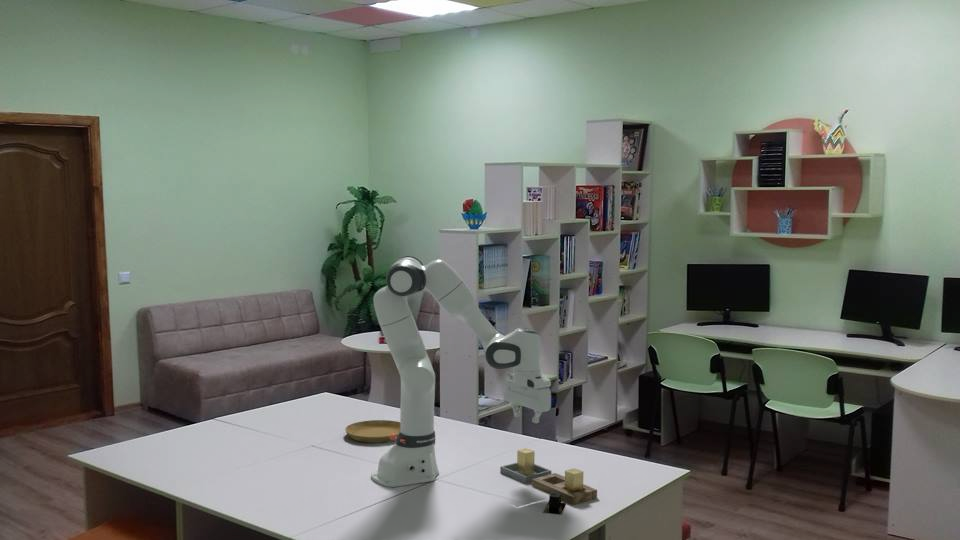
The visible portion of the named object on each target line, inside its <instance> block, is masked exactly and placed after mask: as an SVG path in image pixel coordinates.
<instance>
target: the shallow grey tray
mask: <svg viewBox="0 0 960 540" xmlns="http://www.w3.org/2000/svg"><path fill="white" fill-rule="evenodd" d="M499 468H500V472H499V473H500V474H502V475H505V476H507V477H510V478H512V479H514V480H516V481H519V482H521V483H523V484H525V485H526V484H529V483H532V479H535V478H538V477H542V476H546V475H550V474H552V470H551V469H548V468H546V467H544V466H541V465H538V464H536V463H534V474H533V475H529V476H524V475H522V474H519V473H517V462H513V463H510V464H505V465H501V466H500V467H499Z"/></svg>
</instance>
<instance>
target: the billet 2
mask: <svg viewBox="0 0 960 540" xmlns="http://www.w3.org/2000/svg"><path fill="white" fill-rule="evenodd" d="M564 477H565V490H567V491H570V492H572V493H576V492H579V491H583V484H584V471H583V470H580V469H577V468H570V469H566V470H564Z"/></svg>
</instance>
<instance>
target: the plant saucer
mask: <svg viewBox="0 0 960 540" xmlns="http://www.w3.org/2000/svg"><path fill="white" fill-rule="evenodd" d="M344 430H345V434H346V435H348V437H350V438H351V439H353V440H355V441H357V442H362V443H366V444H367V443H368V444H369V443H370V444H371V443H372V444H378V443H379V444H380V443H381V444H382V443H389V442H394V440H391V439H390V435H391V434H392V433H393V434H395V435H397V436H398V434H399V432H400V421H396V420H390V419H389V420H387V419H385V420H384V419H374V420H372V419H370V420H363V421H356V422H353V423H350V424H349V425H347V426H346V427H345V429H344Z"/></svg>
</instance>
